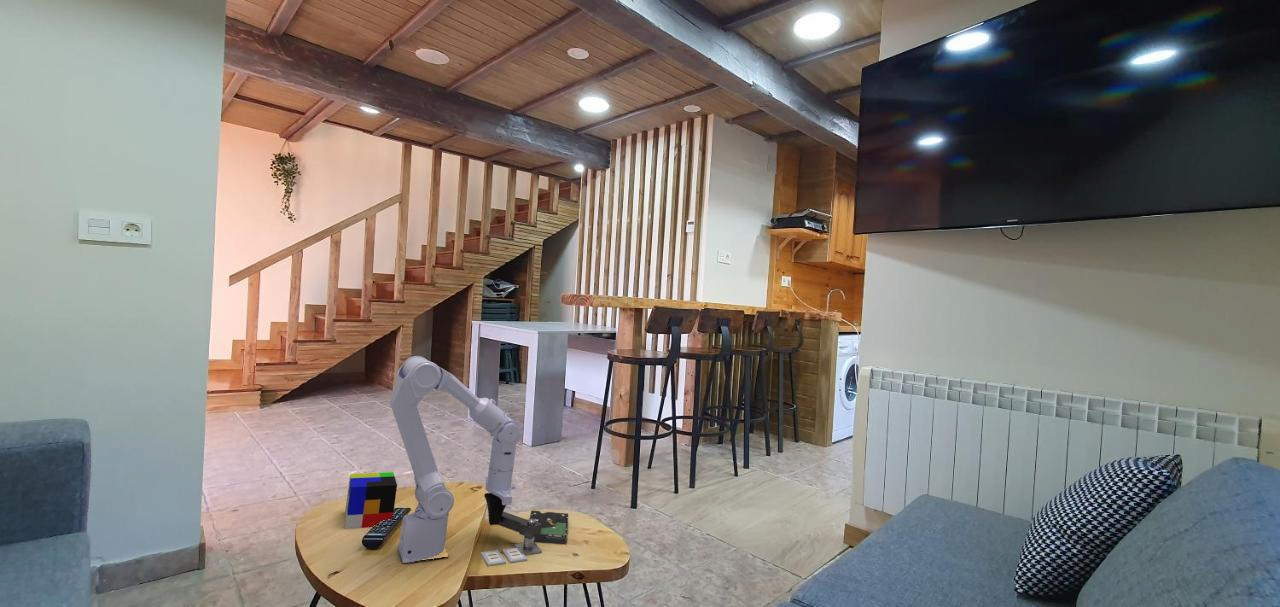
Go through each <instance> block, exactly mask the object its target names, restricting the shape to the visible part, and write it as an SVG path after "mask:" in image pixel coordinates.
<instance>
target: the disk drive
mask: <svg viewBox="0 0 1280 607" xmlns="http://www.w3.org/2000/svg"><path fill="white" fill-rule="evenodd" d="M529 519H535V521H536V522H539V523H542V526H541V534H539V535H537V536H535V538H534V542H535V543H539V544H554V545H563V546H564V545H566V544H567V538H568V527H569V522H568V521H569V513H566V512H564V513H563V512H553V511H547V512H543V513H542V512H541V511H540V510H531V511H530V515H529Z"/></svg>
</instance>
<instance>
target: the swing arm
mask: <svg viewBox="0 0 1280 607" xmlns="http://www.w3.org/2000/svg"><path fill="white" fill-rule="evenodd" d="M497 526H500V527H503V528H506V529H508V530H511V531H514V532H517V533H518V535H521V536H526V537H529V538H533V537H535V536H537V535H539V534H541V526H542V523H539V522H536V521H535V523H534V524H533V525H529V523H528V518H527V519H526V518H524V517H520V516H518V515H514V514H512V513H508V512H506V511H503V513H502V516H501V519H500V522H499V524H498V525H497Z"/></svg>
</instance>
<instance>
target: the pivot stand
mask: <svg viewBox="0 0 1280 607" xmlns="http://www.w3.org/2000/svg"><path fill="white" fill-rule="evenodd" d="M527 520H528V523H529V525H533V524H534V523H535V519H530V518H527ZM534 538H535V537H533V538H529V537H526V536H524V538H523V543H517V544H516V543H515V544H513V546H514V547H513V548H517V549H518V550H519V551H520V553H521V554H524V555H525V556H531V555H537V554H542V553H543V550H542V549H541V548H540V547H539V546H538V545H537V542H534Z"/></svg>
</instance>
